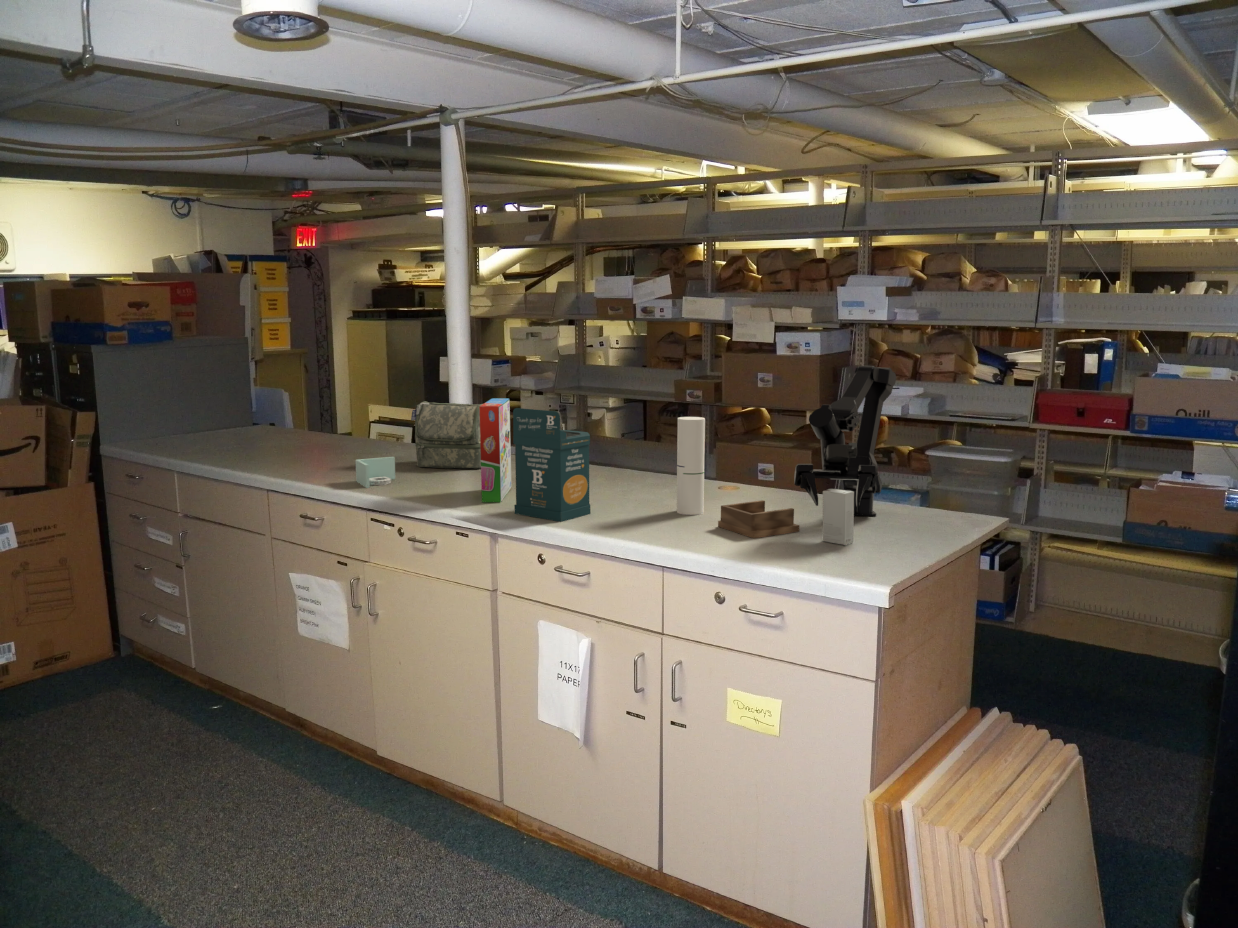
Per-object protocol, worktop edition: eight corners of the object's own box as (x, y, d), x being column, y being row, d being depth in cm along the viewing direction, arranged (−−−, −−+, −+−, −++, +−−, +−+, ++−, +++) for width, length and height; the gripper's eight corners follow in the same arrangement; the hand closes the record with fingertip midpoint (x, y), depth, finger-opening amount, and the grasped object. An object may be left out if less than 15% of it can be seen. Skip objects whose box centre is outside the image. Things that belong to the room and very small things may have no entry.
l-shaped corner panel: (366, 489, 283) (365, 465, 282) (356, 483, 294) (355, 459, 292) (405, 486, 289) (404, 462, 288) (394, 479, 299) (393, 456, 298)
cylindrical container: (688, 508, 255) (690, 416, 251) (709, 512, 250) (710, 418, 246) (671, 511, 250) (671, 418, 246) (691, 516, 245) (692, 420, 241)
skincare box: (854, 542, 217) (856, 490, 215) (844, 546, 214) (846, 493, 212) (830, 538, 222) (832, 487, 220) (820, 541, 218) (822, 490, 216)
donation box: (514, 513, 248) (512, 407, 243) (554, 503, 261) (553, 402, 256) (561, 522, 238) (560, 411, 234) (600, 511, 251) (600, 406, 246)
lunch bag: (407, 468, 319) (404, 403, 315) (430, 459, 336) (428, 398, 332) (479, 471, 313) (478, 405, 309) (499, 462, 330) (497, 400, 327)
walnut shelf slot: (762, 520, 240) (763, 499, 239) (799, 531, 228) (800, 509, 227) (718, 526, 233) (718, 504, 232) (753, 538, 221) (754, 515, 220)
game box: (493, 488, 282) (491, 398, 278) (511, 488, 282) (510, 398, 278) (481, 502, 262) (479, 405, 257) (501, 502, 262) (499, 405, 257)
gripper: (796, 429, 221) (799, 484, 212) (878, 431, 219) (884, 486, 210) (793, 458, 230) (795, 511, 221) (871, 459, 228) (876, 513, 219)
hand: (837, 505), depth 217 cm, fingers open, 9 cm apart
